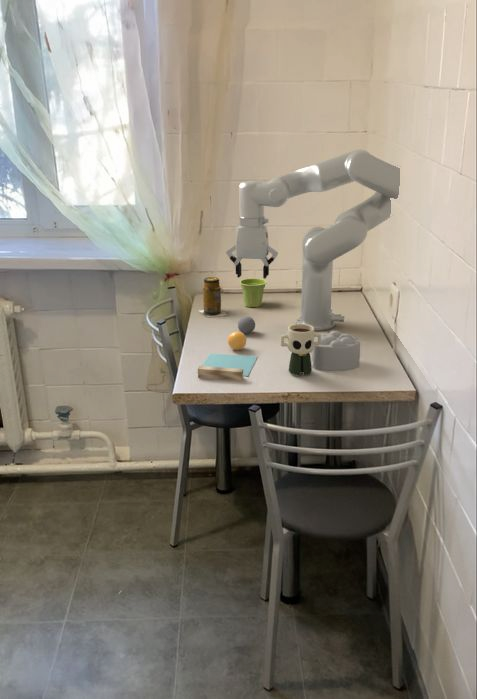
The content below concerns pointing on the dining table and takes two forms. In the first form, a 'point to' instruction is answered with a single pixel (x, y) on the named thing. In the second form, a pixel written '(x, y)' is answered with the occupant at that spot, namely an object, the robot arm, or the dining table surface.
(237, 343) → the orange ball
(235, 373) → the wall
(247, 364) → the teal mark
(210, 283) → the condiment
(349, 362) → the lumpy-topped squat cylinder
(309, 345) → the character mug
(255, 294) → the plant pot
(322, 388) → the dining table surface
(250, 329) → the gray ball
